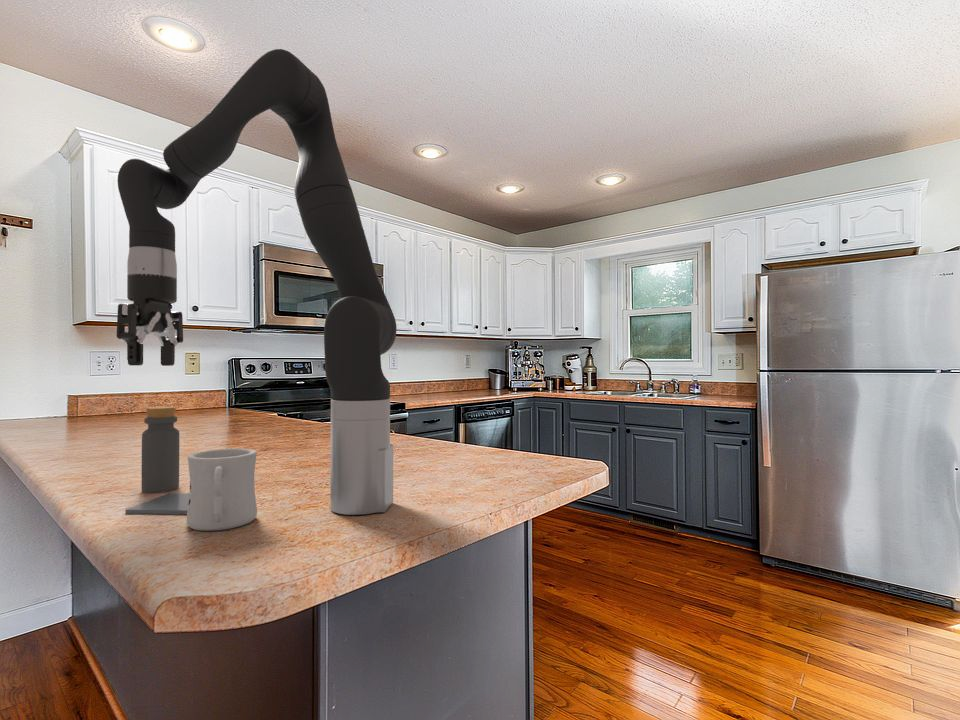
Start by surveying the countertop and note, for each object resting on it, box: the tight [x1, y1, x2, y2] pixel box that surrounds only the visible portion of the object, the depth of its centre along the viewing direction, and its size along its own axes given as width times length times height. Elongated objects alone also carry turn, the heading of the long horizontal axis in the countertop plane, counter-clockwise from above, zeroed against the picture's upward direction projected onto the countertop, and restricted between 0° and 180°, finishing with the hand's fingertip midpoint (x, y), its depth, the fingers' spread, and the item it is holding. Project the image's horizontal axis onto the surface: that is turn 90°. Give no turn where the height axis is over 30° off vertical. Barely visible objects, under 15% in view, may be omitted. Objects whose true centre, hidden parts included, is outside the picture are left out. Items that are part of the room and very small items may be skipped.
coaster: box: [125, 492, 190, 515], centre depth 82 cm, size 10×10×1 cm
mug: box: [186, 448, 258, 532], centre depth 72 cm, size 12×9×10 cm
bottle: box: [141, 405, 180, 494], centre depth 93 cm, size 6×6×15 cm
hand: (152, 365), depth 92 cm, fingers open, 8 cm apart
